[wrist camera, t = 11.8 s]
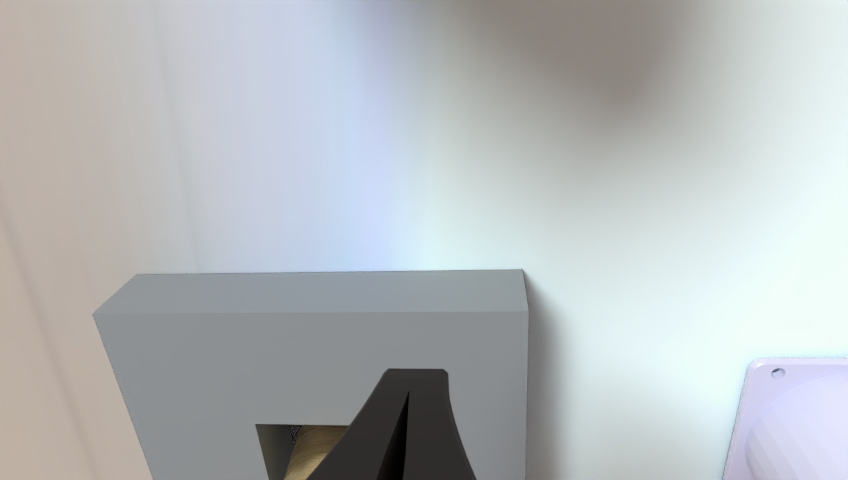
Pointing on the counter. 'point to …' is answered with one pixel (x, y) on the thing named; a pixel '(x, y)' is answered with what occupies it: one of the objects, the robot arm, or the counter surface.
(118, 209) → the counter surface
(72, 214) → the counter surface
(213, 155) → the counter surface
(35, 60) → the counter surface
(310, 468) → the brass sleeve
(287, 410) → the jig block
